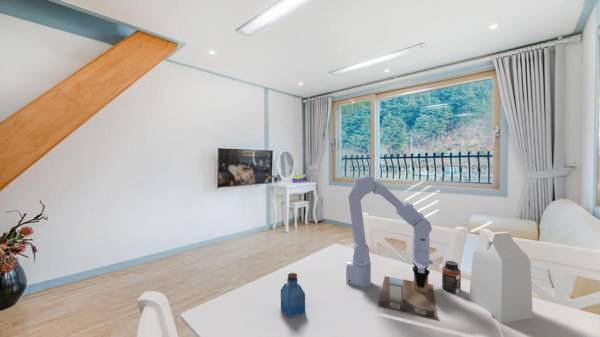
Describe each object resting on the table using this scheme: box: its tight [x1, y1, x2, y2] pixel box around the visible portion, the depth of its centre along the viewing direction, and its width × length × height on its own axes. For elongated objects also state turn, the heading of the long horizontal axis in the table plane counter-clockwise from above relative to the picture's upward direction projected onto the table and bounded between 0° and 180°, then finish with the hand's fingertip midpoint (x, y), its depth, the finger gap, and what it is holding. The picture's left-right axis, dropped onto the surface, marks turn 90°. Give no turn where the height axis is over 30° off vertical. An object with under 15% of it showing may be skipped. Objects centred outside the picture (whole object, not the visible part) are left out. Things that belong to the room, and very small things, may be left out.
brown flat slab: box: [377, 275, 439, 321], centre depth 90 cm, size 18×23×3 cm
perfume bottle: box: [280, 272, 306, 318], centre depth 83 cm, size 6×6×12 cm
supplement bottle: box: [441, 260, 462, 295], centre depth 93 cm, size 6×6×11 cm
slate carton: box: [389, 276, 404, 302], centre depth 86 cm, size 5×4×7 cm
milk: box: [468, 231, 534, 324], centre depth 82 cm, size 12×12×26 cm
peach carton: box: [413, 268, 429, 293], centre depth 94 cm, size 5×4×7 cm
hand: (420, 283), depth 94 cm, fingers closed on peach carton, 4 cm apart
